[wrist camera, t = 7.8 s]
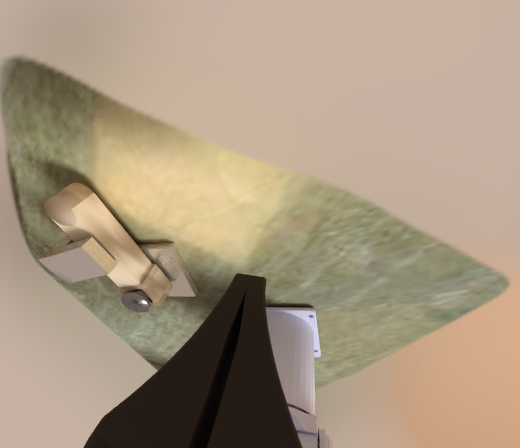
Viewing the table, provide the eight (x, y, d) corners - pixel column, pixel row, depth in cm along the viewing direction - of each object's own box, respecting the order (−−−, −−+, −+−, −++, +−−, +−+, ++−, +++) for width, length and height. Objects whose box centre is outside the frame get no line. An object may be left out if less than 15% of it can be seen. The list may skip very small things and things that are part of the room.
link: (173, 285, 27) (162, 305, 25) (149, 288, 28) (136, 308, 26) (85, 178, 20) (61, 194, 18) (59, 188, 21) (33, 204, 19)
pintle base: (198, 290, 29) (182, 326, 25) (143, 290, 30) (122, 324, 27) (173, 242, 25) (151, 277, 21) (112, 245, 26) (82, 278, 23)
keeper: (142, 234, 25) (109, 274, 21) (103, 245, 27) (66, 284, 23) (121, 209, 23) (81, 246, 19) (81, 222, 25) (37, 260, 21)
